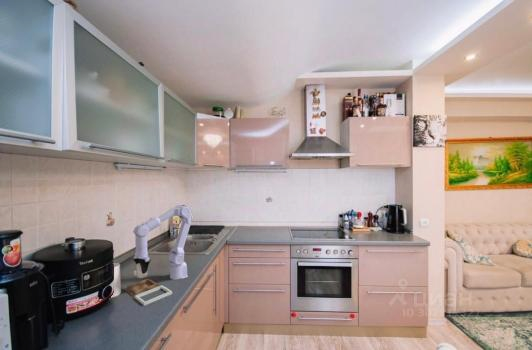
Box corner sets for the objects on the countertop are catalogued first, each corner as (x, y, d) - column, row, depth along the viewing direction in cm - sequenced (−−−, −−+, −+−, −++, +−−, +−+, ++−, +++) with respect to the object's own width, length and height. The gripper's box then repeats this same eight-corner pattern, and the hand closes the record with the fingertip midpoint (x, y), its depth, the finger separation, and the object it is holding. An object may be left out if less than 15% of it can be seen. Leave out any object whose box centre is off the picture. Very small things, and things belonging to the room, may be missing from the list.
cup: (124, 291, 129) (123, 262, 129) (115, 299, 121) (114, 268, 121) (108, 292, 129) (107, 263, 129) (98, 300, 120) (97, 269, 120)
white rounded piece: (145, 273, 134) (144, 260, 134) (149, 275, 130) (148, 263, 130) (132, 277, 129) (132, 264, 129) (136, 280, 125) (136, 266, 125)
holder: (150, 281, 140) (149, 277, 140) (161, 288, 131) (161, 283, 131) (124, 291, 130) (123, 286, 129) (134, 299, 120) (134, 294, 120)
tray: (162, 289, 130) (162, 285, 130) (172, 295, 123) (172, 291, 123) (135, 300, 120) (134, 295, 120) (144, 307, 113) (144, 302, 113)
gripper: (128, 246, 132) (129, 270, 132) (139, 251, 122) (140, 277, 122) (141, 243, 137) (142, 266, 137) (153, 248, 128) (153, 273, 128)
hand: (142, 271), depth 130 cm, fingers closed on white rounded piece, 5 cm apart
